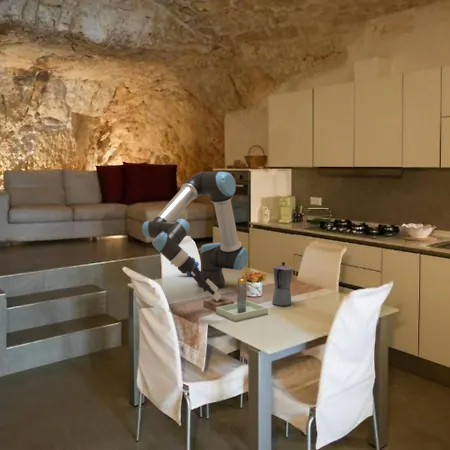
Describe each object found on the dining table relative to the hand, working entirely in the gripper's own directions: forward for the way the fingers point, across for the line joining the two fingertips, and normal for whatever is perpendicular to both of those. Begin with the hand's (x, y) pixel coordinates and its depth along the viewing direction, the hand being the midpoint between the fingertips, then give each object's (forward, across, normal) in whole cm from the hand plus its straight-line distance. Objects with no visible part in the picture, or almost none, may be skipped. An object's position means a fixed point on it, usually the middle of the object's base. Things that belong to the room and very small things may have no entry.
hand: (217, 294), depth 217 cm
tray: (+14, 0, +1) cm, 14 cm away
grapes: (+1, -76, -13) cm, 77 cm away
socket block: (+8, -12, -6) cm, 15 cm away
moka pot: (+29, -13, +16) cm, 36 cm away
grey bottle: (+13, 0, +2) cm, 13 cm away
